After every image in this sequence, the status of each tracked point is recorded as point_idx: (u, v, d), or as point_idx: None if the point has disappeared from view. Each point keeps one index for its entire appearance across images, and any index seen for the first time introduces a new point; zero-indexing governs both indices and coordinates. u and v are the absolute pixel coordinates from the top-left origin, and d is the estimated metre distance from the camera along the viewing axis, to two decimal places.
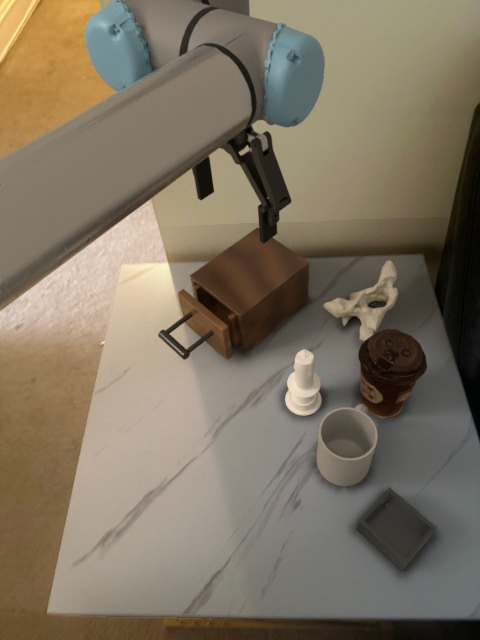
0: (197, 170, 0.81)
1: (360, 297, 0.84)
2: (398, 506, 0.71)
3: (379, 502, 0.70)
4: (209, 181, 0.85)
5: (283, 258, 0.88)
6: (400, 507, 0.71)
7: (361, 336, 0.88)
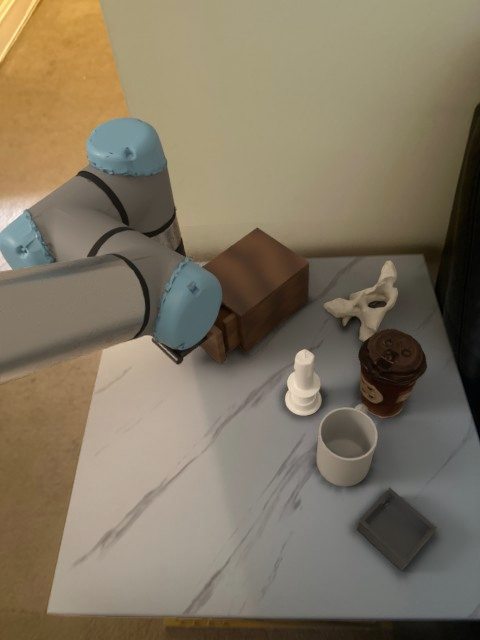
0: None
1: (360, 297, 0.84)
2: (398, 506, 0.71)
3: (379, 502, 0.70)
4: None
5: (283, 258, 0.88)
6: (400, 507, 0.71)
7: (361, 336, 0.88)
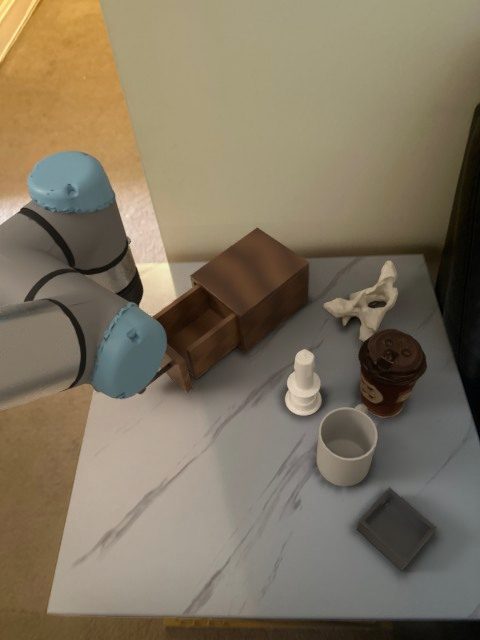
0: None
1: (360, 297, 0.84)
2: (398, 506, 0.71)
3: (379, 502, 0.70)
4: None
5: (283, 258, 0.88)
6: (400, 507, 0.71)
7: (361, 336, 0.88)
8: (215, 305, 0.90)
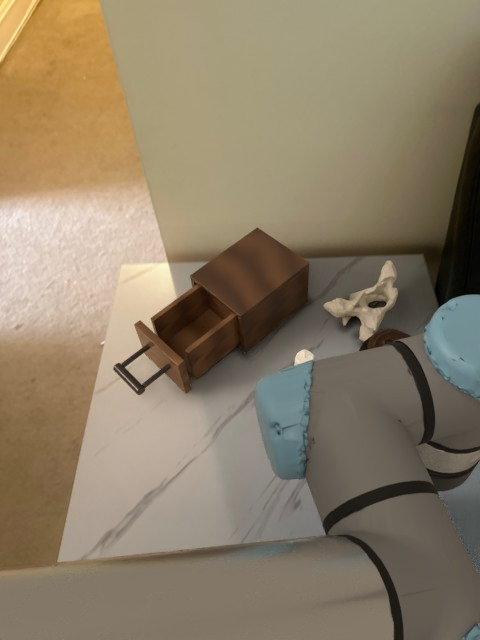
0: None
1: (360, 297, 0.84)
2: None
3: None
4: None
5: (283, 258, 0.88)
6: None
7: (361, 336, 0.88)
8: (214, 306, 0.90)
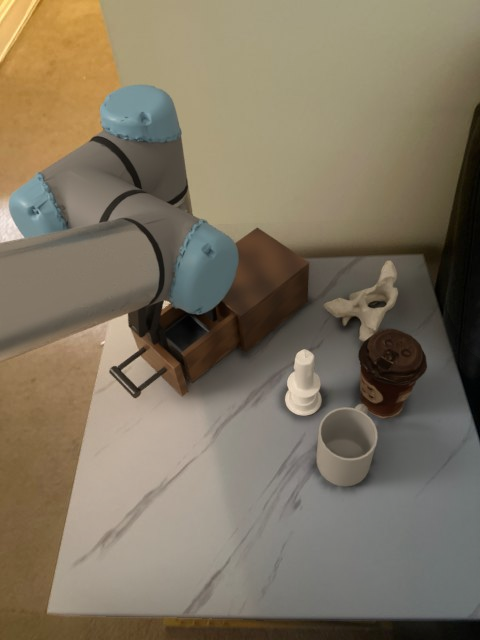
0: None
1: (360, 297, 0.84)
2: (196, 327, 0.88)
3: (177, 321, 0.87)
4: (209, 310, 0.84)
5: (283, 258, 0.88)
6: (197, 326, 0.88)
7: (361, 336, 0.88)
8: None
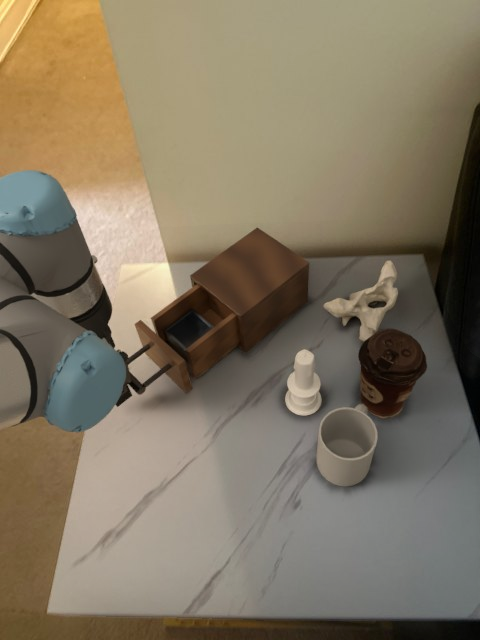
0: None
1: (360, 297, 0.84)
2: (200, 324, 0.89)
3: (181, 318, 0.87)
4: None
5: (283, 258, 0.88)
6: (200, 323, 0.88)
7: (361, 336, 0.88)
8: (215, 305, 0.90)
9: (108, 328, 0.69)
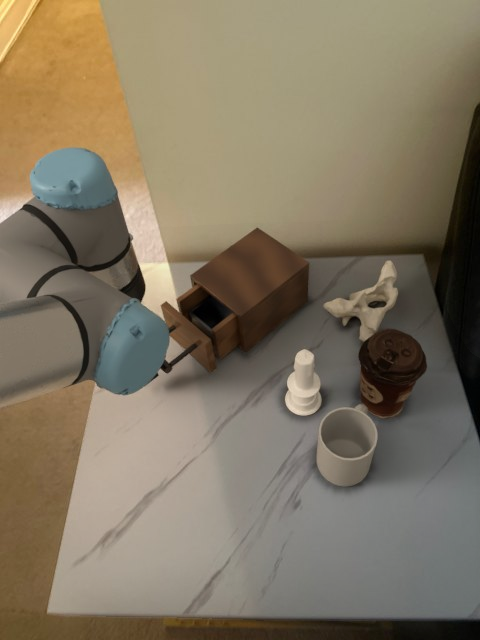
0: None
1: (360, 297, 0.84)
2: (223, 307, 0.91)
3: (205, 300, 0.89)
4: None
5: (283, 258, 0.88)
6: (224, 306, 0.90)
7: (361, 336, 0.88)
8: None
9: None
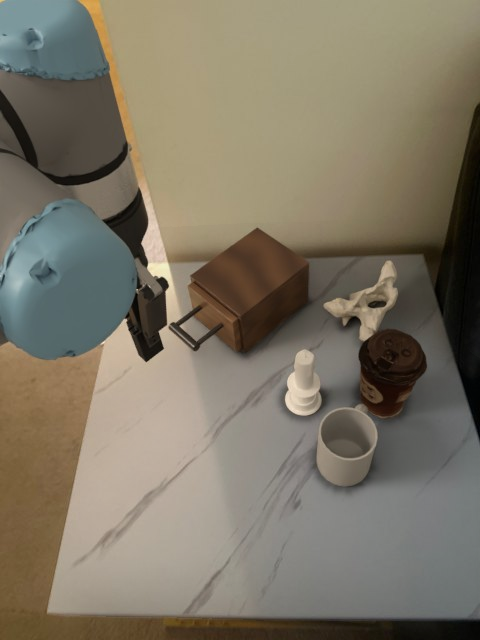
0: None
1: (360, 297, 0.84)
2: None
3: None
4: None
5: (283, 258, 0.88)
6: None
7: (361, 336, 0.88)
8: None
9: (142, 248, 0.53)
